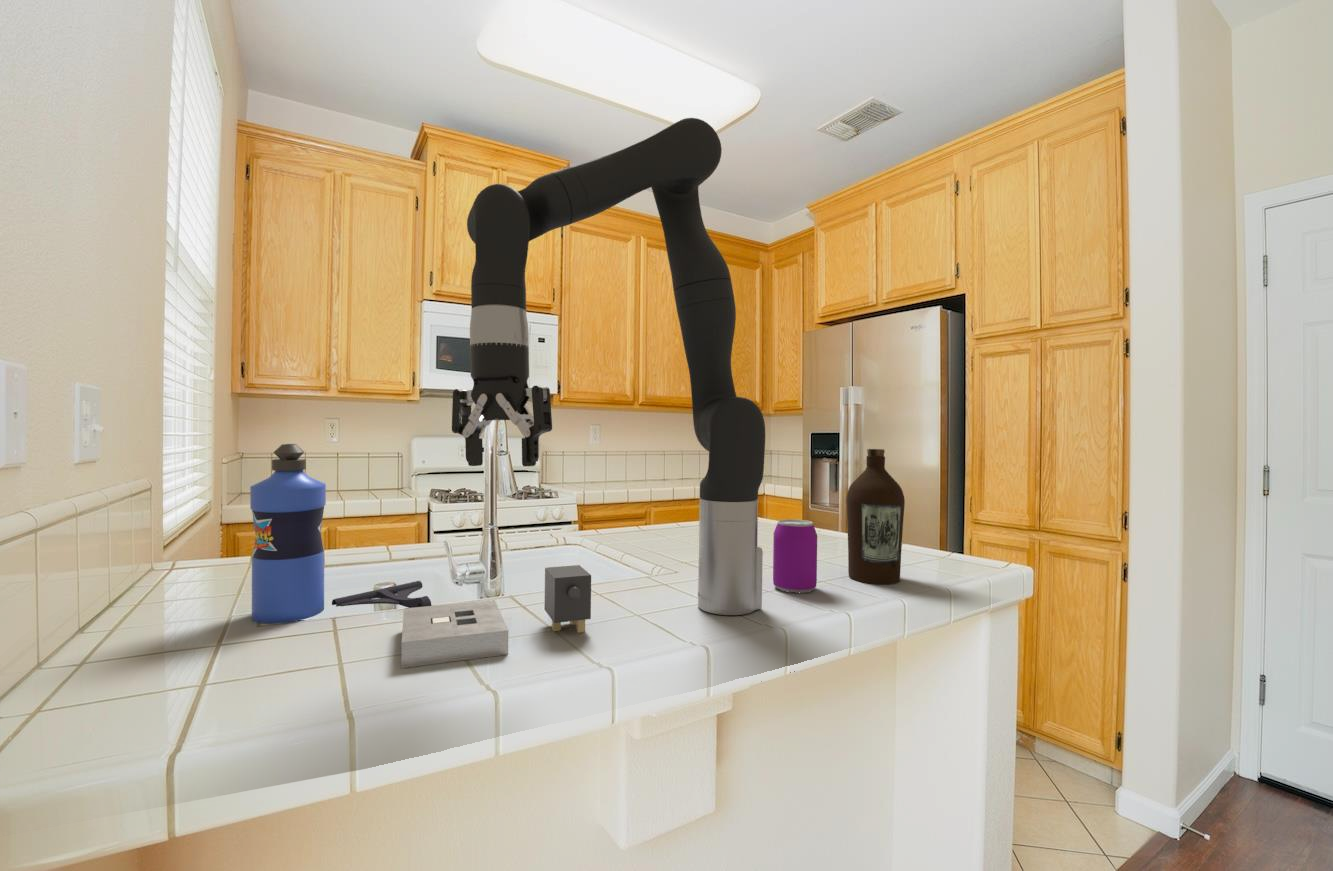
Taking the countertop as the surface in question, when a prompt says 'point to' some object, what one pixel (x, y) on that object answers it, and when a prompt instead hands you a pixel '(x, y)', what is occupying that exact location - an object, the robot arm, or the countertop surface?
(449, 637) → the socket plate
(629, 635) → the countertop surface
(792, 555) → the beverage can
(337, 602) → the bracket
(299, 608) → the blue detergent bottle
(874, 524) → the olive oil
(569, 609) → the plug
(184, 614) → the countertop surface
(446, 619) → the earth shutter
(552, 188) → the robot arm
